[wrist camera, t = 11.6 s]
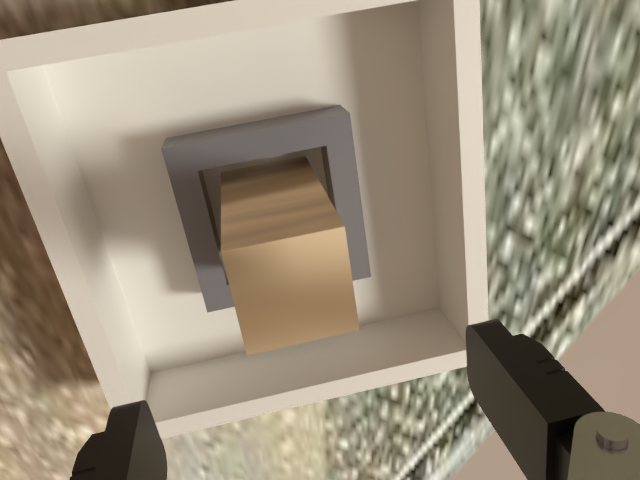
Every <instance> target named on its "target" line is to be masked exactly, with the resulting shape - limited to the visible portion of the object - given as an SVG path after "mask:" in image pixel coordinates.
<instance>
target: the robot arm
mask: <svg viewBox="0 0 640 480" xmlns="http://www.w3.org/2000/svg"><path fill="white" fill-rule="evenodd" d="M466 356H467V375H468V381H469V385H470V388H471V391H472V393H473V395H474V397H475V399H476V401H477V402H478V404H479V405H480V407H481V408H482V410H483V412H484V413H485V415H486V416H487V418H488V419H489V421H490V422H491V424H492V425H493V427H494V429H495V430H496V432H497V433H498V435H499V436H500V438H501V439H502V441H503V442H504V444H505V445H506V447H507V449H508V450H509V452H510V453H511V454H512V456H513V458H514V459H515V461H516V462H517V464H518V465H519V467H520V469H521V470H522V472H523V473H524V475H525V476H526V478H527V479H528V480H640V424H638V423H637V422H635V421H634V420H632V419H630V418H628V417H625V416H623V415H620V414H616V413H612V412H605V411H604V410H603V408H602V407H601V406H600V405H599V404H598V403H597V402H596V401H595V400H594V399H593V398H592V397H591V396H590V395H589V394H588V393H587V392H586V390H585V389H584V388H583V387H582V386H581V385H580V384H579V383H578V382H577V381H576V380H575V379H574V378H573V377H572V376H571V375H570V374H569V372H568V371H565V368H564V367H563V366H562V365H561V364H560V363H559V362H558V361H557V360H555V359H554V357H553V356H552V354H551V353H550V352H549V351H548V350H547V349H546V348H545V347H544V346H543V345H542V344H541V343H539V342H537V341H535V340H533V339H531V338H530V337H528V336H526V335H524V334H519V335H515V336H512V335H511V333H510V332H509V331H508V330H507V329H506V328H505V327H504V326H503V324H502V323H501V322H500V321H499V320H497V319H493V320H489V321H485V322H480V323H476V324H472V325H468V326H467V327H466ZM166 479H167V460H166V453H165V449H164V446H163V443H162V440H161V438H160V435H159V432H158V429H157V427H156V424H155V421H154V419H153V416H152V413H151V410H150V408H149V405H148V403H147V402H146V401H145V400H141V401H137V402H133V403H128V404H124V405H120V406H115V407H113V408H112V409H111V411H110V414H109V418H108V422H107V426H106V429H105V432H101V433H96V434H92V435H91V437H90V438H89V439H88V441H87V442H86V443H85V445H84V446H83V447H82V449H81V450H80V451H79V453H78V455H77V458H76V461H75V464H74V467H73V471H72V477H70V480H166Z"/></svg>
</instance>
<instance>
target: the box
mask: <svg viewBox="0 0 640 480" xmlns="http://www.w3.org/2000/svg"><path fill="white" fill-rule="evenodd" d="M0 138H1V140H2V143H3V145H4V148H5V150H6V153H7V155H8V158H9V160H10V163H11V165H12V167H13V170H14V172H15V175H16V177H17V180H18V182H19V185H20V187H21V190H22V192H23V195H24V197H25V200H26V202H27V205H28V207H29V209H30V212H31V214H32V217H33V219H34V222H35V224H36V227H37V229H38V232H39V234H40V237H41V239H42V242H43V244H44V247H45V249H46V251H47V254H48V256H49V259H50V261H51V264H52V266H53V269H54V271H55V274H56V276H57V279H58V281H59V284H60V286H61V289H62V291H63V293H64V296H65V298H66V301H67V303H68V306H69V308H70V311H71V313H72V316H73V318H74V321H75V323H76V326H77V328H78V330H79V333H80V335H81V338H82V340H83V343H84V345H85V348H86V350H87V353H88V355H89V358H90V360H91V363H92V365H93V368H94V370H95V372H96V375H97V377H98V380H99V382H100V385H101V387H102V390H103V392H104V395H105V397H106V400H107V402H108V405H109V407H110V410H111V409H112V408H113V407H115V406H120V405H124V404H128V403H133V402H137V401H141V400H145V401H146V402H147V403H148V405H149V408H150V410H151V413H152V416H153V419H154V421H155V424H156V427H157V429H158V432H159V435H160V438H161V439H163V438H167V437H172V436H176V435H180V434H184V433H189V432H193V431H197V430H201V429H205V428H210V427H214V426H218V425H222V424H226V423H231V422H235V421H239V420H243V419H247V418H252V417H256V416H260V415H264V414H269V413H273V412H277V411H281V410H285V409H290V408H294V407H298V406H302V405H306V404H311V403H315V402H319V401H323V400H327V399H332V398H336V397H340V396H344V395H349V394H353V393H357V392H361V391H365V390H370V389H374V388H378V387H382V386H386V385H391V384H395V383H399V382H403V381H408V380H412V379H416V378H420V377H424V376H429V375H433V374H437V373H441V372H445V371H450V370H454V369H458V368H462V367H466V366H467V356H466V327H467V326H468V325H472V324H476V323H480V322H485V321H488V290H487V255H486V219H485V183H484V148H483V112H482V76H481V41H480V5H479V0H234V1H228V2H222V3H216V4H210V5H204V6H198V7H192V8H186V9H180V10H175V11H169V12H163V13H157V14H151V15H145V16H139V17H133V18H127V19H121V20H115V21H109V22H103V23H97V24H91V25H85V26H79V27H74V28H68V29H62V30H56V31H50V32H44V33H38V34H32V35H26V36H20V37H14V38H8V39H2V40H0ZM303 156H306V158H307V160H308V162H309V163H310V165H311V167H312V169H313V171H314V172H315V174H316V176H317V178H318V179H319V181H320V183H321V185H322V187H323V188H324V190H325V192H326V194H327V196H328V197H329V199H330V201H331V203H332V204H333V206H334V208H335V210H336V212H337V213H338V215H339V217H340V219H341V221H342V222H343V224H344V226H345V231H346V238H347V245H348V252H349V259H350V266H351V273H352V280H353V287H354V294H355V301H356V308H357V315H358V322H359V329H360V330H358V331H354V332H349V333H345V334H341V335H336V336H332V337H327V338H323V339H318V340H314V341H309V342H305V343H301V344H296V345H292V346H287V347H283V348H278V349H274V350H269V351H265V352H260V353H256V354H252V355H247V354H246V350H245V346H244V342H243V338H242V334H241V330H240V326H239V322H238V318H237V314H236V310H235V306H234V302H233V298H232V294H231V291H230V287H229V283H228V279H227V275H226V271H225V267H224V263H223V259H222V255H221V172H226V171H231V170H236V169H241V168H247V167H252V166H257V165H262V164H267V163H272V162H278V161H283V160H288V159H293V158H298V157H303Z"/></svg>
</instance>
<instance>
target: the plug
mask: <svg viewBox="0 0 640 480" xmlns="http://www.w3.org/2000/svg"><path fill="white" fill-rule="evenodd" d="M221 255H222V259H223V263H224V267H225V271H226V275H227V279H228V283H229V287H230V291H231V294H232V298H233V302H234V306H235V310H236V314H237V318H238V322H239V326H240V330H241V334H242V338H243V342H244V346H245V350H246V354H247V355H252V354H256V353H260V352H265V351H269V350H274V349H278V348H283V347H287V346H292V345H296V344H301V343H305V342H309V341H314V340H318V339H323V338H327V337H332V336H336V335H341V334H345V333H349V332H354V331H358V330H360V329H359V322H358V315H357V308H356V301H355V294H354V287H353V280H352V273H351V266H350V259H349V252H348V245H347V238H346V231H345V226H344V224H343V222H342V221H341V219H340V217H339V215H338V213H337V212H336V210H335V208H334V206H333V204H332V203H331V201H330V199H329V197H328V196H327V194H326V192H325V190H324V188H323V187H322V185H321V183H320V181H319V179H318V178H317V176H316V174H315V172H314V171H313V169H312V167H311V165H310V163H309V162H308V160H307V158H306V156H303V157H298V158H293V159H288V160H283V161H278V162H272V163H267V164H262V165H257V166H252V167H247V168H241V169H236V170H231V171H226V172H221Z"/></svg>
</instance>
